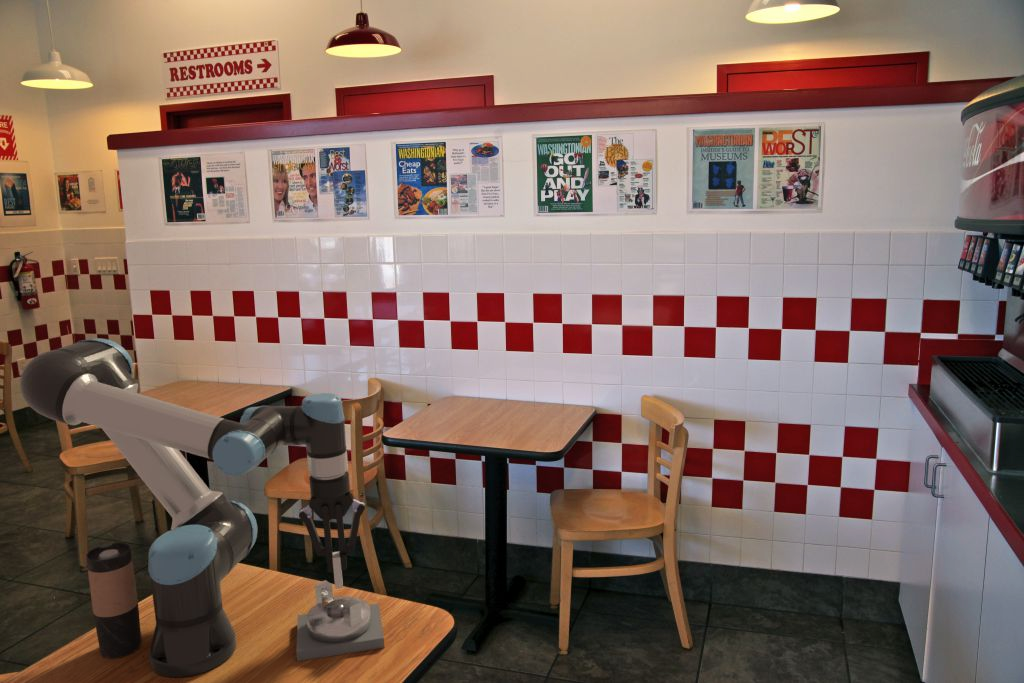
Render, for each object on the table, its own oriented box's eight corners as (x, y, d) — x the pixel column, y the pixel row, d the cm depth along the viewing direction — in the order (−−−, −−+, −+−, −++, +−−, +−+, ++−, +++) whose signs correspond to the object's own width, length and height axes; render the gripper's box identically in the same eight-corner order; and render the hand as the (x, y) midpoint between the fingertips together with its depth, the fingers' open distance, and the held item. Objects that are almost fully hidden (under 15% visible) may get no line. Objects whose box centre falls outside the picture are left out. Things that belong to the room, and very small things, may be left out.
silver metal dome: (353, 646, 146) (351, 613, 145) (295, 637, 149) (293, 605, 148) (380, 612, 157) (379, 581, 156) (326, 605, 160) (324, 575, 159)
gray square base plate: (297, 661, 146) (296, 648, 145) (298, 624, 158) (297, 612, 157) (384, 647, 149) (383, 635, 149) (379, 612, 162) (378, 600, 161)
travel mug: (125, 661, 147) (112, 562, 143) (89, 657, 148) (75, 559, 144) (151, 638, 154) (139, 543, 150) (117, 635, 156) (104, 540, 152)
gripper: (361, 463, 158) (370, 571, 163) (295, 470, 155) (305, 580, 160) (363, 475, 151) (372, 589, 155) (293, 484, 148) (304, 599, 153)
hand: (338, 584), depth 158 cm, fingers closed
